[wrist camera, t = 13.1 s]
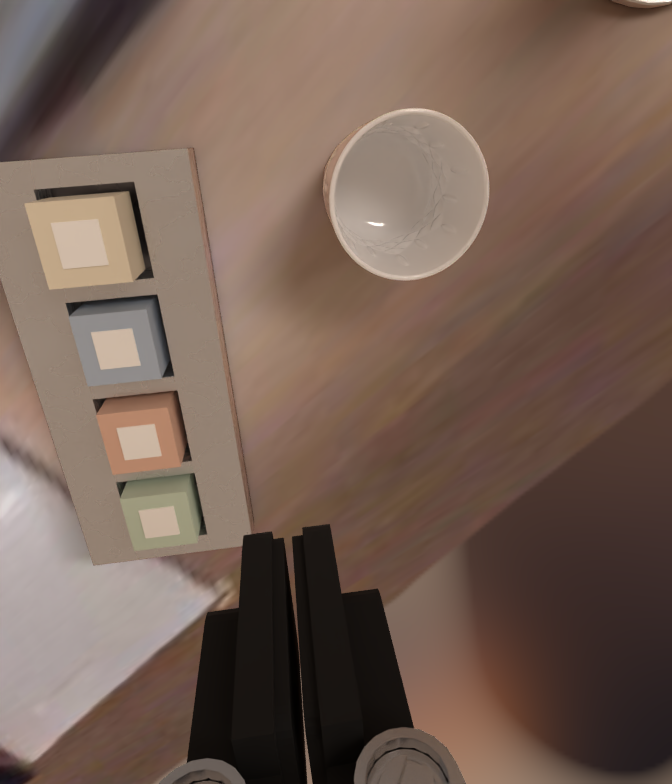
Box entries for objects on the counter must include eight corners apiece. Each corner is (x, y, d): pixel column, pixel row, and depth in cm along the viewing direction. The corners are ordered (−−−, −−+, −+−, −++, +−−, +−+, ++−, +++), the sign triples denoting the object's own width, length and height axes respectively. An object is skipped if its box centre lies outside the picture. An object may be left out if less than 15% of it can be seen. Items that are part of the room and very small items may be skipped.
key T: (156, 294, 36) (145, 309, 33) (170, 359, 38) (161, 379, 35) (85, 301, 36) (67, 317, 32) (103, 366, 37) (87, 387, 34)
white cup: (322, 255, 37) (339, 291, 28) (304, 126, 34) (318, 120, 25) (436, 238, 37) (490, 268, 28) (430, 109, 34) (489, 96, 25)
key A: (175, 385, 39) (167, 408, 35) (187, 441, 40) (180, 467, 37) (110, 392, 38) (95, 416, 35) (125, 448, 40) (112, 475, 37)
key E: (192, 464, 41) (185, 492, 38) (202, 513, 43) (197, 543, 40) (130, 472, 41) (119, 500, 38) (144, 521, 43) (133, 552, 40)
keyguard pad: (193, 147, 34) (187, 148, 31) (254, 520, 45) (253, 544, 42) (-12, 163, 33) (-37, 165, 30) (104, 539, 44) (93, 565, 42)
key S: (129, 191, 32) (113, 196, 29) (145, 268, 34) (132, 282, 30) (48, 197, 31) (23, 203, 28) (69, 275, 33) (48, 290, 30)
